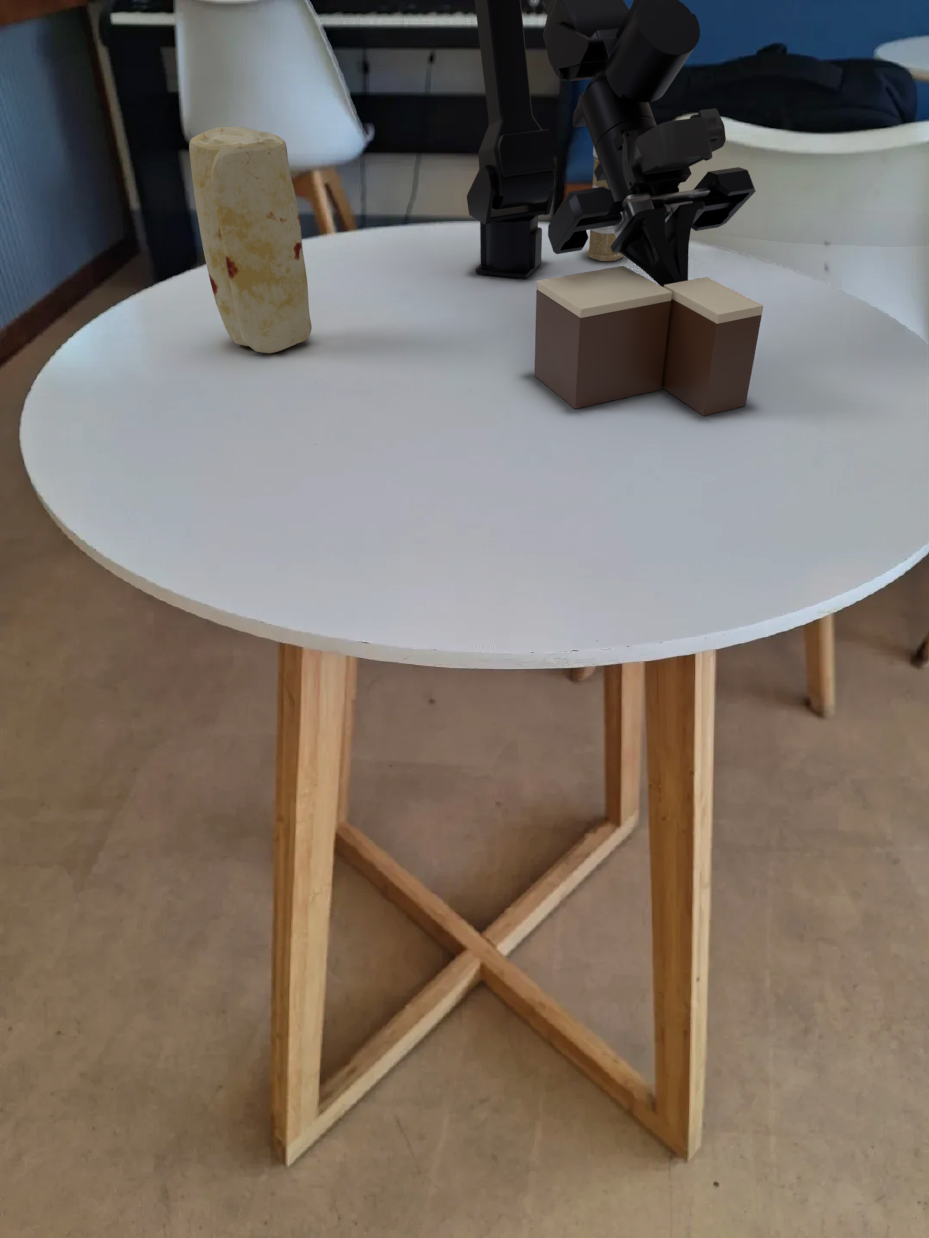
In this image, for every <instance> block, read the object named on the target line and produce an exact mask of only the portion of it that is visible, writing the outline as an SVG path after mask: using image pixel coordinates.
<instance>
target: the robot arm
mask: <svg viewBox="0 0 929 1238" xmlns="http://www.w3.org/2000/svg"><path fill="white" fill-rule="evenodd" d="M542 2H543V4H544V8H545V11H546V19H545V24H544V28H543V33H542V38H543V41H544V45H545V48H546V53H547V58H548V61H549V64H550V66H551V67H552V70H553V73H554V74H555V76H556V77H557V78H558V79H559V81H565V82H575V81H576V82H577V81H585V80H590V81H589V82H588V83H587V85H586V87H585V88H584V91H583V92H582V93H580V94H579V95H578V102H577V105H576V107H575V110H574V111H573V115H572V126H573V127H574V128H579V127H587V131H588V133H589V136H590V140H591V142H592V145H593V147H594V148H595V151H596V154H597V157H598V159H599V164H598V166H597V167H596V169H595V170H594V169H593V174H594V173H595V176H596V179H597V181H602V180H606V182H607V185H608V188H609V189H607V188H605V187H597V188H593V187H592V188H585V189H584V188H583V189H576V190H570V191H568V192H567V194H566V195H565V197H564V198H563V200H562V202H561V204H560V205H559V207H558V209H557V210H556V212H555V213H554V215H553V217H552V218H551V220H550V221H549V223H548V226H547V237H548V240H549V243H550V246H551V250H552V252H553V253H555V254H556V255H562V254H567V253H572V252H578V251H582V250H583V249H584V247H585V246H586V245H587V244H586V243H587V242H588V240H589V239H590V236H589V234H588V232H587V231H590V229H596V228H603V227H609V226H612V227H613V230H614V231H615V232H614V233H615V236H616V240H615V241H614V242H613V244H612V245H611V246H610V248H611V251H612V252H613V253H617V252H619V253H621V254H623V257H625V258H627V259H628V260H629V261H631V262H632V263H633V264H634V265H636V266H637V267H638V268H640V270H642V271H643V272H645V273H646V274H647V276H648V277H650V278H651V279H652V280H653V281H655V283H656V284H658V285H660V286H662V287H664V285H666V284H672V283H677V282H682V281H688V280H689V250H690V247H689V246H690V238H691V231H692V230H693V231H695V232H699V231H705V230H706V231H707V230H712V229H717V228H720V227H721V226H724V225H726V224H727V223H728V222H729V221H730V220H731V219H732V218H733V217H734V216H735V214H736V213H737V212H738V211H739V210H740V209H742V208H741V207H743V206H744V205H745V204H746V203H747V201H748V200H749V199H751V197H752V196H753V195H754V194H755V193H756V192H757V191H756V188H755V186H754V182H753V180H752V178H751V175H750V173H749V170H748V169H746V168H743V167H739V166H736V167H730V168H724V169H716V170H710V171H707V172H706V173H705V175H704V176H703V177H702V178H701V179H700V180H699V182H698V183H697V184H696V186H695V187H694V188H693V189H690V190H684V191H680V188H679V186H680V185H681V183H686V182H687V180H688V179H689V178H690V176H692V171H691V168H690V167H693V166H694V165H696V164H698V163H700V162H702V161H705V162H707V161H710V160H712V158H713V152H716V151H718V150H720V149H722V148H723V147H724V146H725V143H726V141H727V137H726V128H725V124H724V121H723V119H722V117H721V115H720V113H719V111H718V109H717V107H716V108H707V109H701V110H699V111H698V113H696V114H692V115H690V117H689V118H683V119H676V120H669V121H665V122H662V123H660V124H657V122H656V119H655V117H654V114H653V111H652V108H651V106H650V103H653V102H655V101H658V100H659V99H661V98H662V97H663V96H664V94H665V93H666V91H667V90H668V89H669V87H670V85H671V84H672V83H673V81H674V80H675V78H676V77H677V75H678V74H679V72H680V71H681V69H682V68H683V66H684V65H685V63H686V62H687V60H688V59H689V57H690V55H691V54H692V53H693V51H694V50H695V48H696V47H697V45H698V44H699V41H700V37H701V27H700V23H699V20H698V17H697V15H696V14H695V13H693V12H692V11H691V9H689V8H688V7H687V6H686V4H685V3H684V2H682V1H680V0H633V1H632V4H631V6H630V8H629V7H628V5H627V4H626V2H625V1H624V0H542ZM474 7H475V17H476V23H477V24H476V25H477V32H478V39H479V40H478V41H479V49H480V57H481V66H482V74H483V82H484V91H485V99H486V100H485V102H486V108H487V116H488V117H487V118H488V125H487V129H486V132H485V134H484V137H483V140H482V142H481V145H480V147H479V150H478V153H477V154H478V171H477V173H476V175H475V177H474V178H473V179H474V180H473V182H472V184H471V186H470V188H469V190H468V192H467V194H466V201H467V202H466V203H467V209H468V215H469V216H471V217H472V218H473V219H475V220H477V221H478V222H479V238H480V239H479V245H480V246H479V247H480V249H479V250H480V251H479V252H480V253H479V254H480V255H479V256H480V264H479V265H477V267H476V268H475V273H476V274H479V275H480V274H481V275H488V276H489V275H490V276H498V277H508V278H518V279H526V278H528V277H529V276H530V275H531V274H532V273H533V272H534V271H535V270H536V269H537V268H538V267H539V266H540V265H541V264H542V248H543V245H542V244H543V242H542V241H543V228H541V227H539V216H549V215H550V214H551V211H552V206H553V200H554V196H555V191H556V186H557V181H558V173H557V165H556V161H555V155H554V139H553V135H552V132H551V131H550V129H549V128H547V129H543V128H542V127H541V125H540V124H539V123H538V122H537V120H536V118H535V117H534V115H533V108H532V97H531V88H530V87H531V86H530V79H529V69H528V59H527V49H526V40H525V30H524V29H525V27H524V21H523V20H524V19H523V10H522V0H474Z"/></svg>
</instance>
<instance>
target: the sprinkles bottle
mask: <svg viewBox="0 0 929 1238" xmlns="http://www.w3.org/2000/svg"><path fill="white" fill-rule="evenodd" d="M592 155H593V160H594V162H593V171H594V170H595V169H596V167H597V166H598V164H599V159H598V157H597V154H596V151H595V148H594V146H593V149H592ZM597 187H605V188H607V189H609V188H608V185H607V182H606V180H602V181H597V179H596V176H595V173H594V172H593V175H592V188H597ZM614 232H615V231H614V230H613V227H612V226H609V227H603V228H596V229H590V230H589V242H588V244H589V245H588V250H587V255H588V256H589V258H591V259H593V260H597V261H602V262H611V261H618V260H620V259H622V258H623V257H624V255H623V254H621V253H619V252H617V253H613V252H612V251H611V248H610V246H611V245H612V244H613V242H614V241H615V240H616V236H615V233H614Z"/></svg>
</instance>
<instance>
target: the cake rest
mask: <svg viewBox="0 0 929 1238" xmlns="http://www.w3.org/2000/svg"><path fill="white" fill-rule="evenodd" d="M535 293H536V295H535V296H536V297H535V301H536V302H535V331H534V332H535V333H534V334H535V335H534V336H535V337H534V338H535V339H534V371H533V372H534V373H533V374H534V377H535V378H536V379H538V380H539V381H540V382H541V383H542V384H544V385H545V386H546V387H547V388H549V389H550V390H551V391H553V392H554V393H555V394H556V395H558V396H559V398H561V399H562V400H564V401H565V402H566V403H567V404H569V405H570V406H571V407H572V408H573V409H575V410H577V409H581V408H585V407H590V406H596V405H599V404H604V403H608V402H613V401H618V400H621V399H626V398H629V397H634V396H639V395H644V394H647V393H651V392H656V391H657V392H658V391H661V390H662V387H661V385H662V376H663V368H664V359H665V350H666V342H667V333H668V324H669V316H670V307H671V297H672V292H671V291H669V290H667V289H666V288H664V287H662V286H660V285H659V284H658V283H657V282H654V280H653V281H652V280H650V279H649V278H647V277H645V276H644V275H641V274H639V273H638V272H636V271H634V270H632V269H630V268H628V267H627V266H625V265H619V266H612V267H607V268H601V269H596V270H590V271H585V272H579V273H573V274H567V275H561V276H556V277H550V278H545V279H539V280H536V291H535Z"/></svg>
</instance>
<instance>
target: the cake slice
mask: <svg viewBox="0 0 929 1238" xmlns="http://www.w3.org/2000/svg"><path fill="white" fill-rule="evenodd" d="M664 288H666V289H667V290H669V291H671V292H672V297H671V307H670V316H669V324H668V333H667V342H666V350H665V359H664V368H663V376H662V385H661V389H663V390H665V391H666V392H668V393H669V394H671V395H672V396H674V397H675V398H676V399H678V400H680V401H681V402H683V403H684V404H686V405H687V406H688V407H690V408H691V409H693V410H694V411H695V412H697V413H699V414H700V415H702V416H703V417H704V416H708V415H712V414H713V415H714V414H717V413H721V412H725V411H729V410H735V409H738V408H742V407H745V406H746V405H747V400H748V394H749V389H750V388H749V387H750V384H751V378H752V372H753V367H754V362H755V355H756V349H757V345H758V339H759V333H760V329H761V322H762V316H763V310H764V305H763V304H761V303H760V302H757V301H756V300H754V299H751V298H749V297H748V296H745V295H743V294H742V293H739V292H737V291H736V290H733V289H732V288H730V287H727V286H725V285H724V284H722V283H720V282H717V281H716V280H713V279H711V278H709V277H707V276H705V277H698V278H694V279H688V281H682V282H677V283H672V284H666V285H664Z"/></svg>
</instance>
